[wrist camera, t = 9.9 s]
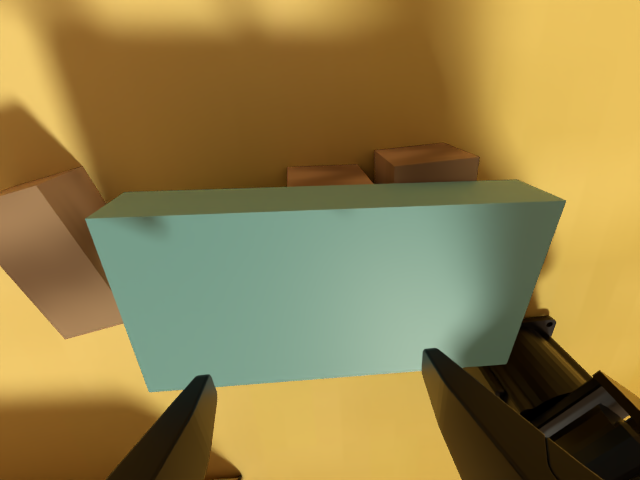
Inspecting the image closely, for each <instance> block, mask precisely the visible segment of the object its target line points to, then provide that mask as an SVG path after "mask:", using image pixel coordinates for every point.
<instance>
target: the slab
mask: <svg viewBox="0 0 640 480" xmlns="http://www.w3.org/2000/svg"><path fill="white" fill-rule="evenodd" d="M565 203H566V200H563V199H561V198H559V197H557V196H554V195H552V194H550V193H547V192H545V191H543V190H540V189H538V188H536V187H533V186H531V185H529V184H526V183H524V182H522V181H519V180H487V181H456V182H424V183H392V184H361V185H329V186H298V187H266V188H234V189H203V190H171V191H139V192H124V193H122V194H121V195H119V196H118V197H116V198H115V199H113V200H112V201H111V202H109V203H108V204H106V205H105V206H103V207H102V208H100V209H99V210H97V211H96V212H94V213H93V214H91V215H90V216H88V217H87V218H85V220H86V223H87V226H88V228H89V231H90V234H91V236H92V239H93V242H94V245H95V247H96V250H97V253H98V255H99V258H100V261H101V263H102V266H103V269H104V272H105V274H106V277H107V280H108V282H109V285H110V288H111V290H112V293H113V296H114V299H115V301H116V304H117V307H118V309H119V312H120V315H121V318H122V320H123V323H124V326H125V328H126V331H127V334H128V336H129V339H130V342H131V345H132V347H133V350H134V353H135V355H136V358H137V361H138V364H139V366H140V369H141V372H142V374H143V377H144V380H145V382H146V385H147V388H148V391H149V392H159V391H172V390H184V389H185V388H186V387H187V385H188V384H189V383H190V382H191V381H192V380H193V379H194V377H196V376H198V375H205V374H210V375H211V377H212V379H213V382H214V385H215V387H223V386H235V385H248V384H261V383H273V382H286V381H299V380H312V379H324V378H337V377H350V376H362V375H375V374H388V373H401V372H413V371H422V369H421V367H422V354H423V350H424V349H428V348H438V349H439V350H440V351H442V352H443V353H444V354H445V355H447V356H448V357H449V358H450V359H452V360H453V361H454V362H455V363H457V364H458V365H459V366H460V367H461V368H464V367H477V366H490V365H502V364H507V362H508V359H509V356H510V353H511V351H512V348H513V345H514V342H515V340H516V337H517V334H518V332H519V329H520V326H521V323H522V321H523V318H524V315H525V312H526V310H527V307H528V304H529V301H530V299H531V296H532V293H533V290H534V288H535V285H536V282H537V279H538V277H539V274H540V271H541V269H542V266H543V263H544V260H545V258H546V255H547V252H548V249H549V247H550V244H551V241H552V238H553V236H554V233H555V230H556V227H557V225H558V222H559V219H560V217H561V214H562V211H563V208H564V206H565Z"/></svg>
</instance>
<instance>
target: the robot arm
mask: <svg viewBox="0 0 640 480" xmlns="http://www.w3.org/2000/svg"><path fill="white" fill-rule="evenodd" d="M555 325H556V321H555V320H554V319H553V318H552V317H550V316H544V317H535V318H526V319H523V321H522V323H521V326H520V329H519V332H518V334H517V337H516V340H515V342H514V345H513V348H512V351H511V353H510V356H509V359H508V362H507V364H502V365H490V366H477V367H464V368H461V367H460V366H459V365H458V364H457V363H455V362H454V361H453V360H452V359H450V358H449V357H448V356H447V355H445V354H444V353H443V352H442V351H440V350H439V349H438V348H428V349H424V350H423V354H422V367H421V369H422V375H423V378H424V382H425V385H426V388H427V391H428V394H429V397H430V400H431V404H432V407H433V410H434V413H435V416H436V419H437V422H438V425H439V428H440V430H441V433H442V435H443V437H444V440H445V442H446V444H447V447H448V449H449V451H450V454H451V456H452V458H453V461H454V463H455V465H456V467H457V470H458V472H459V474H460V477H461V479H462V480H640V399H639V398H638V397H637V396H636V395H635V394H633V393H632V392H630V391H629V390H627V389H626V388H625V387H623V386H622V385H620V384H619V383H617V382H616V381H614V380H613V379H612V378H610V377H609V376H607V375H606V374H604V373H603V372H601V371H600V370H599V371H598V372H596V373H595V374H594V375H592V376H593V378H592V377H591V376H590V375H589V374H588V373H587V372H586V371H585V370H584V369H583V368H582V367H581V366H580V365H579V364H578V363H577V362H576V361H575V360H574V359H573V358H572V357H571V356H570V355H569V354H568V353H567V352H566V351H565V350H564V349H563V348H562V347H561V346H560V345H558V344H557V343H556V342H555V341H554V340H553V339H552V338H551V336H552V333H553V330H554V327H555ZM216 405H217V391H216V388H215V385H214V382H213V379H212V377H211V375H210V374H205V375H198V376H196V377H194V379H193V380H192V381H191V382H190V383H189V384H188V385H187V387H186V388H185V389H184V390H183V391H182V392H181V393H180V395H179V396H178V397H177V398H176V399H175V400H174V402H173V403H172V404H171V405H170V406H169V407H168V408H167V410H166V411H165V412H164V413H163V414H162V415H161V416H160V418H159V419H158V420H157V421H156V422H155V423H154V424H153V426H152V427H151V428H150V429H149V430H148V431H147V433H146V434H145V435H144V436H143V437H142V438H141V439H140V441H139V442H138V443H137V444H136V445H135V446H134V447H133V449H132V450H131V451H130V452H129V453H128V454H127V455H126V457H125V458H124V459H123V460H122V461H121V462H120V464H119V465H118V466H117V467H116V468H115V469H114V470H113V472H112V473H111V474H110V475H109V476H108V477H107V478H106V480H204V479H205V475H206V470H207V466H208V462H209V457H210V451H211V445H212V437H213V429H214V421H215V413H216ZM629 415H630V416H631V418H629V419H627V420H626V421H625V420H623V419H624V418H625V417H627V416H629Z"/></svg>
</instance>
